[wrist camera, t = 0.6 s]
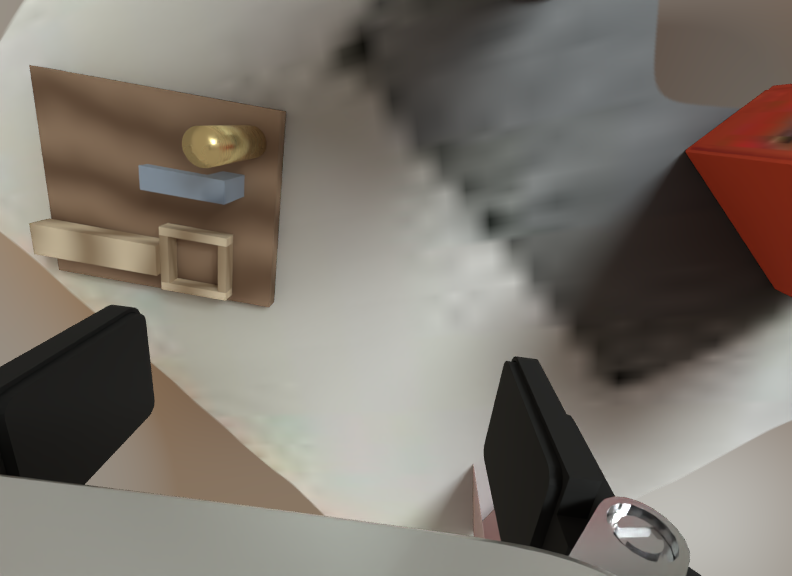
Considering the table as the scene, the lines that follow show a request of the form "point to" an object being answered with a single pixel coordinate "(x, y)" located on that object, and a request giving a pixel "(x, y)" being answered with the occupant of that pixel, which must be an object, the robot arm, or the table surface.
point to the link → (136, 252)
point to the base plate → (162, 146)
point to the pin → (222, 144)
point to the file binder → (755, 178)
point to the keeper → (192, 184)
